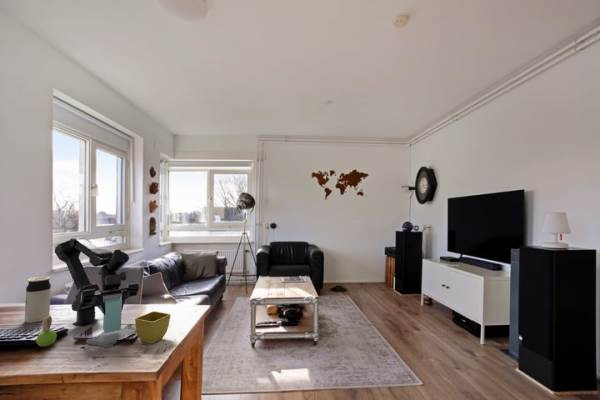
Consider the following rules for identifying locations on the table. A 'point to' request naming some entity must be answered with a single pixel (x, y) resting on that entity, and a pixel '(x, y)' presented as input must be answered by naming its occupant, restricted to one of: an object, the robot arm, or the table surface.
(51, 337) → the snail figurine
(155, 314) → the flower pot
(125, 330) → the coaster
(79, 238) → the robot arm
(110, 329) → the block
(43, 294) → the travel mug
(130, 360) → the table surface
